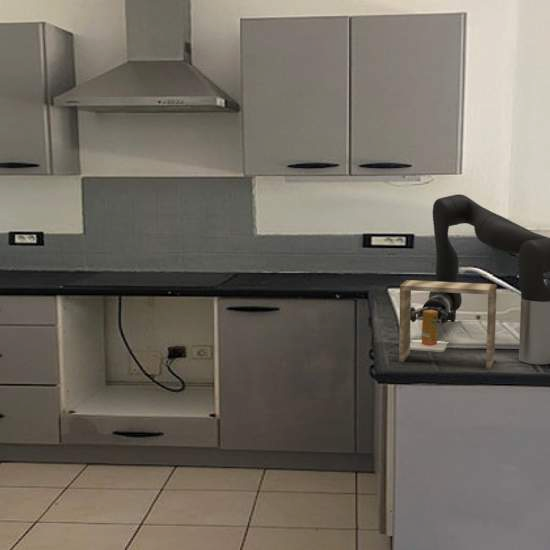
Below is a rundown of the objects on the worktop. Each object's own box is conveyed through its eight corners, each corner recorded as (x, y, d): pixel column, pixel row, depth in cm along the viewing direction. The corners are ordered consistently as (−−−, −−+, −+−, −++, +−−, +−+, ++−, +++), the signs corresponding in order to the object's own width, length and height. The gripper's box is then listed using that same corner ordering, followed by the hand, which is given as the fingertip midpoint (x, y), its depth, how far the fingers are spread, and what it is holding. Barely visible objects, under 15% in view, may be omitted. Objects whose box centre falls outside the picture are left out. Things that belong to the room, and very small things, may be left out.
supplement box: (430, 346, 241) (430, 312, 240) (421, 344, 244) (421, 310, 242) (437, 344, 243) (438, 310, 242) (428, 342, 246) (429, 309, 244)
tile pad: (449, 343, 247) (449, 341, 247) (443, 352, 237) (443, 350, 237) (412, 340, 251) (412, 338, 251) (404, 349, 240) (404, 347, 240)
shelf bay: (494, 360, 227) (496, 284, 224) (490, 369, 219) (493, 290, 215) (405, 353, 235) (406, 280, 232) (399, 361, 227) (399, 285, 224)
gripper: (413, 295, 259) (403, 305, 244) (460, 298, 254) (452, 308, 239) (413, 319, 260) (403, 330, 245) (459, 322, 255) (451, 333, 240)
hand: (427, 319), depth 242 cm, fingers open, 8 cm apart
